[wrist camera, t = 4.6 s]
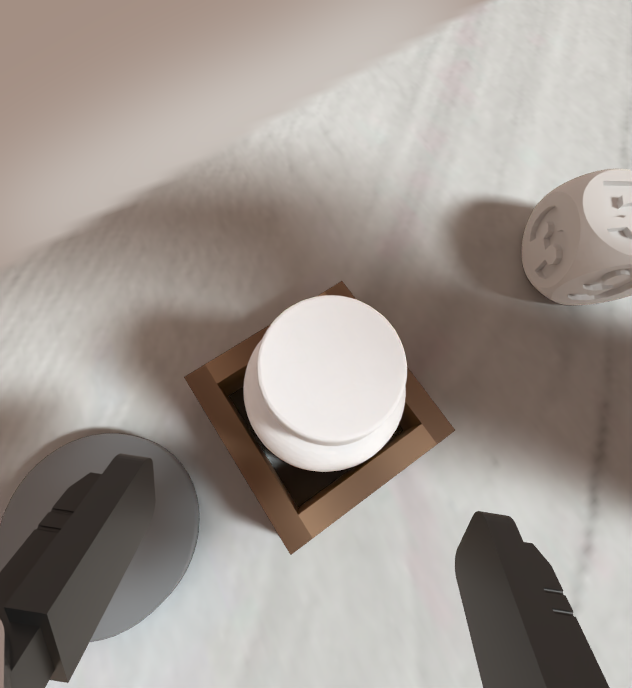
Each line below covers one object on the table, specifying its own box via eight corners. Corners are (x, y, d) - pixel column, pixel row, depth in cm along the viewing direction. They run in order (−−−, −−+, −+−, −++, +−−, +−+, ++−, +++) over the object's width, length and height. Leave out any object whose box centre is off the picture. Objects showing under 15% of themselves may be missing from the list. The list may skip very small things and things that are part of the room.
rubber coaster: (147, 402, 19) (140, 398, 18) (232, 552, 18) (229, 557, 17) (-16, 502, 18) (-34, 504, 17) (59, 678, 16) (44, 692, 15)
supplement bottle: (243, 387, 20) (195, 317, 10) (339, 343, 21) (372, 242, 11) (289, 491, 18) (281, 514, 9) (389, 438, 19) (474, 411, 10)
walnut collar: (336, 306, 21) (342, 281, 18) (432, 435, 19) (455, 430, 17) (200, 390, 20) (183, 377, 17) (291, 540, 18) (290, 555, 15)
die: (596, 228, 24) (672, 167, 19) (616, 306, 22) (704, 262, 17) (514, 227, 23) (569, 165, 19) (528, 306, 22) (593, 260, 17)
